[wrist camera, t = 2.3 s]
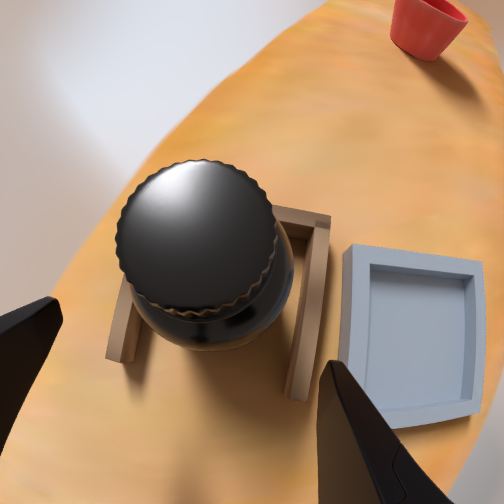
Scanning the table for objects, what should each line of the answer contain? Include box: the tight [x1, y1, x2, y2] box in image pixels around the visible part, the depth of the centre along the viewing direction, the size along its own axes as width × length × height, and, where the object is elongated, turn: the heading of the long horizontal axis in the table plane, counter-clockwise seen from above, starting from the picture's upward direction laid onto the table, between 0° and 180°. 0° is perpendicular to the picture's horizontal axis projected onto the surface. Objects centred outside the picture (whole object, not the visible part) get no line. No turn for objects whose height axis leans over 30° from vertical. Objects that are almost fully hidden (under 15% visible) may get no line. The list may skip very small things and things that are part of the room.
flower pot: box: [390, 0, 468, 61], centre depth 27 cm, size 11×11×10 cm
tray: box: [338, 244, 486, 429], centre depth 18 cm, size 12×12×2 cm
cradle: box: [105, 205, 331, 402], centre depth 19 cm, size 12×12×2 cm
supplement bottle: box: [115, 159, 294, 352], centre depth 14 cm, size 7×7×12 cm
